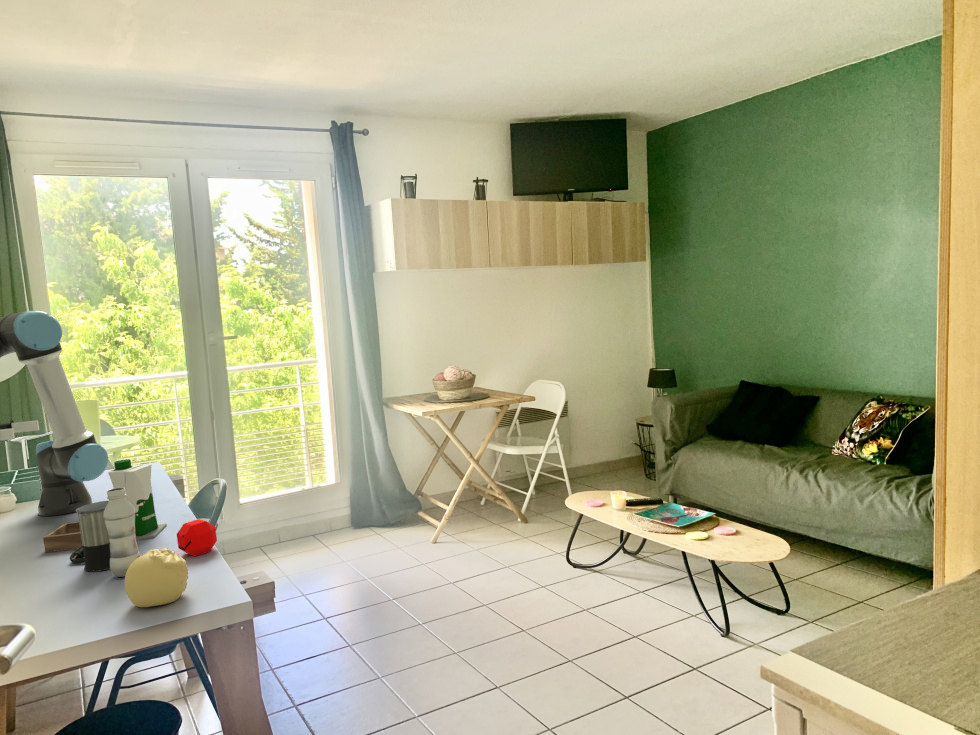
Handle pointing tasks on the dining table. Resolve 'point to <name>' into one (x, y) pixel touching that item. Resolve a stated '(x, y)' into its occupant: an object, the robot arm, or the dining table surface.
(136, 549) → the plastic bottle
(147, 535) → the mat
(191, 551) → the ball
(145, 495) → the soya milk
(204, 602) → the dining table surface
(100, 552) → the milk frother
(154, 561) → the pale yellow rounded lump
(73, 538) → the holder
